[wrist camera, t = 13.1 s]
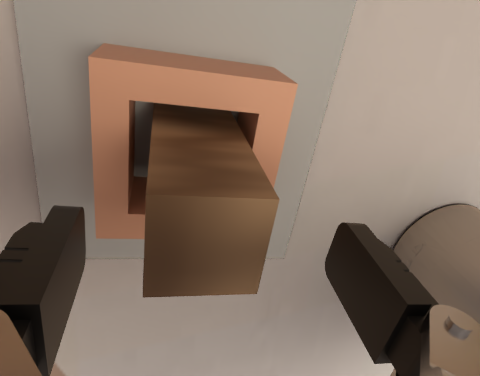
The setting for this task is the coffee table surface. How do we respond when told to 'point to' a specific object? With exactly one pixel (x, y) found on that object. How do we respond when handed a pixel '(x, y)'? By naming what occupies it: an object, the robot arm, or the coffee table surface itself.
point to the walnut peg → (204, 206)
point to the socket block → (170, 96)
